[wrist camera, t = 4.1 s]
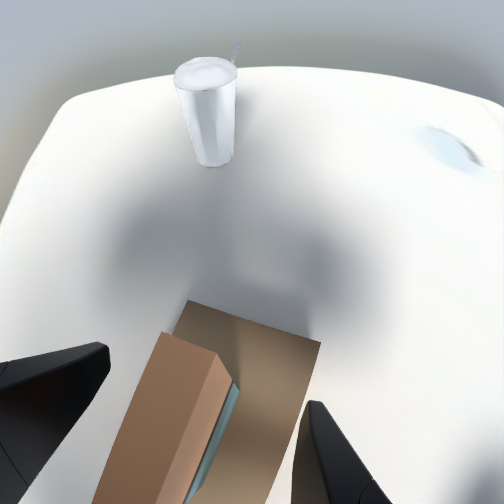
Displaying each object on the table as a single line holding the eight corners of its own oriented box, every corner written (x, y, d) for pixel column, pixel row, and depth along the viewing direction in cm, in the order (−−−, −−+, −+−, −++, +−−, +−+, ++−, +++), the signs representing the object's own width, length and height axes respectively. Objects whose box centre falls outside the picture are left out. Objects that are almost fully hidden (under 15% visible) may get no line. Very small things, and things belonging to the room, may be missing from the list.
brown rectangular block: (179, 511, 7) (134, 555, 3) (145, 495, 7) (83, 526, 3) (232, 379, 9) (216, 352, 6) (197, 366, 9) (161, 331, 6)
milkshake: (259, 154, 26) (259, 47, 17) (206, 181, 24) (187, 68, 15) (229, 130, 27) (222, 34, 19) (180, 154, 26) (158, 53, 17)
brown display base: (241, 538, 11) (231, 602, 4) (126, 491, 12) (54, 517, 6) (310, 355, 17) (345, 309, 10) (198, 318, 18) (165, 254, 12)
